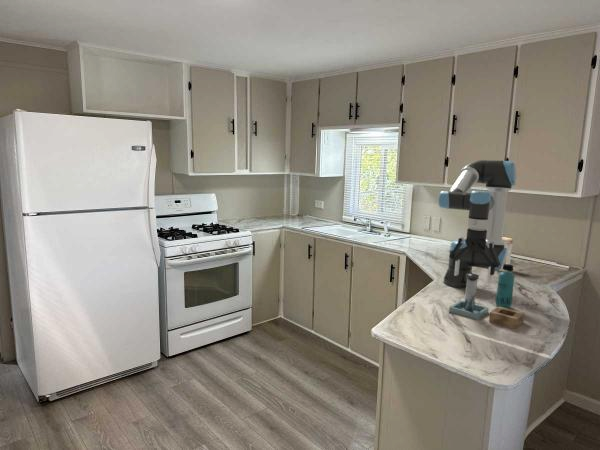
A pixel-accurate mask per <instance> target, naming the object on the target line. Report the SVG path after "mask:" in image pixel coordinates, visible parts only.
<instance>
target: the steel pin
mask: <svg viewBox="0 0 600 450" xmlns="http://www.w3.org/2000/svg"><path fill="white" fill-rule="evenodd" d="M466 277H467V283H466V288H465V295H464V310H465V311H469V312H473V313H474V305H475V304H476V294H477V287H478V286H477V285H478V280H479V277H480V276H479V274H476V273H473V272H472V273H467V274H466Z"/></svg>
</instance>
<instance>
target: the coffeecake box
mask: <svg viewBox="0 0 600 450" xmlns="http://www.w3.org/2000/svg"><path fill="white" fill-rule="evenodd" d="M502 242H503V243H504V248H507V254H506V258H505V261H504V264H509V265H511V258H512V250H513V242H514V238H510V237H505V236H502ZM504 264H503V265H504ZM498 271H499V272H502V271H508V270H504V269H503V267H502V268H501V269H500V270H498ZM508 272H509V271H508Z"/></svg>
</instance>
